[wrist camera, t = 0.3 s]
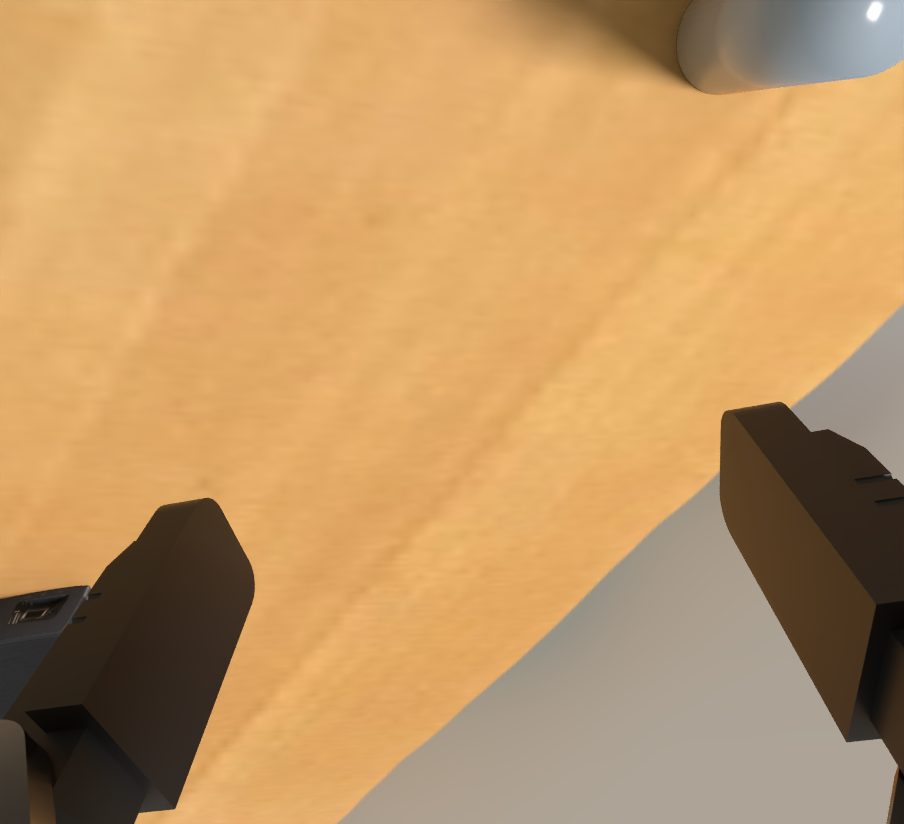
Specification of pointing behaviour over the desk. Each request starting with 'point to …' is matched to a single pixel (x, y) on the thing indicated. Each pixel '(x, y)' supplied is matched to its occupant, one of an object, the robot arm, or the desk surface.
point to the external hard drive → (31, 635)
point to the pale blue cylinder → (787, 42)
